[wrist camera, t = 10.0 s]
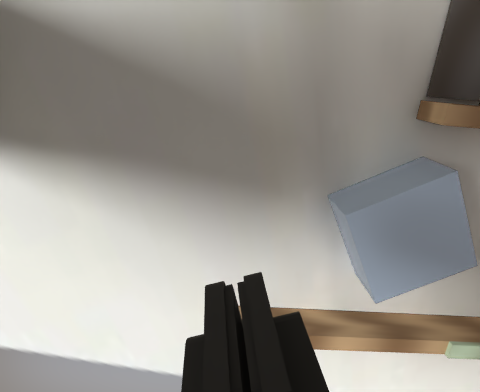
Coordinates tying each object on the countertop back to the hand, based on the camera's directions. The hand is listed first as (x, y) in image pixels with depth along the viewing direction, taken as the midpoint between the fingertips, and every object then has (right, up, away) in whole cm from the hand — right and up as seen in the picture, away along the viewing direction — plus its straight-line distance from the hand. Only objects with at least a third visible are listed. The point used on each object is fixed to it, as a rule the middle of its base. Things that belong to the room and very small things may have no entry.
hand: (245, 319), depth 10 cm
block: (+11, +2, +16) cm, 19 cm away
